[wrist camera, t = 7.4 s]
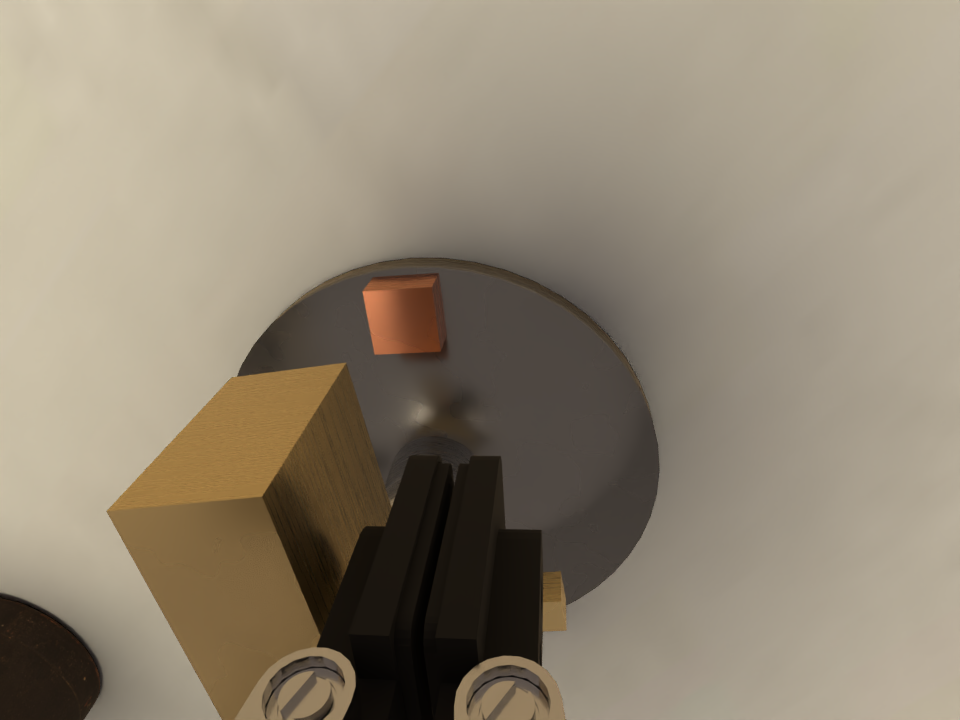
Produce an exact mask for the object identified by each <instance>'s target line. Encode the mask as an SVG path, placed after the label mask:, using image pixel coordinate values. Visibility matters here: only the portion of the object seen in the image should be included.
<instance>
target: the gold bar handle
mask: <svg viewBox="0 0 960 720" xmlns="http://www.w3.org/2000/svg"><path fill="white" fill-rule="evenodd" d="M391 508H392V506H391V504H390V501H389V497H388V494H387V491H386V488H385V485H384V481H383V478H382V475H381V472H380V469H379V466H378V462H377V459H376V456H375V453H374V450H373V446H372V443H371V440H370V437H369V434H368V430H367V427H366V424H365V421H364V418H363V414H362V411H361V408H360V405H359V402H358V398H357V395H356V392H355V389H354V386H353V382H352V379H351V376H350V373H349V370H348V366H347V363H339V364H331V365H323V366H316V367H308V368H300V369H293V370H285V371H277V372H270V373H262V374H254V375H247V376H239V377H232V378H231V379H230V380H229V381H228V382H227V383H226V384H225V385H224V386H223V387H222V388H221V389H220V390H219V391H218V392H217V394H216V395H215V396H214V397H213V398H212V399H211V400H210V401H209V402H208V403H207V404H206V405H205V406H204V407H203V409H202V410H201V411H200V412H199V413H198V414H197V415H196V416H195V417H194V418H193V419H192V420H191V421H190V422H189V424H188V425H187V426H186V427H185V428H184V429H183V430H182V431H181V432H180V433H179V434H178V435H177V436H176V437H175V439H174V440H173V441H172V442H171V443H170V444H169V445H168V446H167V447H166V448H165V449H164V450H163V451H162V452H161V454H160V455H159V456H158V457H157V458H156V459H155V460H154V461H153V462H152V463H151V464H150V465H149V466H148V467H147V468H146V470H145V471H144V472H143V473H142V474H141V475H140V476H139V477H138V478H137V479H136V480H135V481H134V482H133V483H132V485H131V486H130V487H129V488H128V489H127V490H126V491H125V492H124V493H123V494H122V495H121V496H120V497H119V498H118V500H117V501H116V502H115V503H114V504H113V505H112V506H111V507H110V508H109V509H108V510H107V513H108V515H109V517H110V518H111V520H112V522H113V524H114V526H115V527H116V529H117V531H118V533H119V535H120V536H121V538H122V540H123V542H124V544H125V545H126V547H127V549H128V551H129V553H130V554H131V556H132V558H133V560H134V562H135V563H136V565H137V567H138V569H139V571H140V572H141V574H142V576H143V578H144V580H145V582H146V583H147V585H148V587H149V589H150V591H151V592H152V594H153V596H154V598H155V600H156V601H157V603H158V605H159V607H160V609H161V610H162V612H163V614H164V616H165V618H166V619H167V621H168V623H169V625H170V627H171V628H172V630H173V632H174V634H175V636H176V637H177V639H178V641H179V643H180V645H181V646H182V648H183V650H184V652H185V654H186V655H187V657H188V659H189V661H190V663H191V664H192V666H193V668H194V670H195V672H196V673H197V675H198V677H199V679H200V681H201V682H202V684H203V686H204V688H205V690H206V691H207V693H208V695H209V697H210V699H211V700H212V702H213V704H214V706H215V708H216V709H217V711H218V713H219V715H220V717H221V718H222V720H234V719H235V718H236V716H237V714H238V713H239V711H240V710H241V708H242V706H243V705H244V703H245V702H246V700H247V698H248V697H249V695H250V694H251V692H252V690H253V689H254V687H255V685H256V684H257V682H258V681H259V680H260V678H261V677H262V676H263V675H264V673H265V672H266V671H267V670H268V668H270V667H271V666H272V665H274V664H275V663H276V662H277V661H279V660H280V659H281V658H283V657H285V656H287V655H289V654H291V653H293V652H295V651H298V650H303V649H307V648H312V647H317V644H318V641H319V639H320V636H321V634H322V631H323V629H324V626H325V623H326V621H327V618H328V616H329V613H330V610H331V608H332V605H333V603H334V600H335V597H336V595H337V592H338V590H339V587H340V584H341V582H342V579H343V577H344V574H345V571H346V569H347V566H348V564H349V561H350V559H351V556H352V553H353V551H354V548H355V546H356V543H357V540H358V538H359V535H360V533H361V531H362V529H363V528H364V527H366V526H386V523H387V520H388V517H389V514H390V511H391ZM564 630H567V629H566V597H565V592H564V586H563V581H562V575H561V571H555V572H543V632H544V631H564Z"/></svg>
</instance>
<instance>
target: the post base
mask: <svg viewBox="0 0 960 720" xmlns="http://www.w3.org/2000/svg"><path fill="white" fill-rule="evenodd" d="M339 363H347V366H348V370H349V373H350V376H351V379H352V382H353V386H354V389H355V392H356V395H357V398H358V402H359V405H360V408H361V411H362V414H363V418H364V421H365V424H366V427H367V430H368V434H369V437H370V440H371V443H372V446H373V450H374V453H375V456H376V459H377V462H378V466H379V469H380V472H381V475H382V478H383V481H384V485H385V488H386V491H387V494H388V497H389V501H390V504H391V506H392V505H393V502H394V499H395V496H396V493H397V491H398V488H399V485H400V482H401V479H402V476H403V473H404V470H405V467H406V464H407V461H408V459H409V457H410V456H411V455H440V456H441V459H442V463H451V464H452V468H453V477H454V485H455V480H456V475H457V471H458V466H459V464H460V463H462V464H469V461H470V457H471V456H501V460H502V474H503V491H504V508H505V526H506V529H528V530H542V548H543V572H555V571H561V575H562V581H563V586H564V592H565V597H566V605H568V604H570V603H572V602H574V601H576V600H577V599H579V598H581V597H582V596H584V595H585V594H587V593H588V592H590V591H591V590H593V589H595V588H596V587H597V586H598V585H600V584H601V583H602V582H603V581H604V580H605V579H607V578H608V577H609V576H610V575H611V574H613V573H614V571H615V570H616V569H617V568H618V567H619V566H620V565H621V564H622V563H623V561H624V560H625V559H626V558H627V557H628V556H629V554H630V553H631V551H632V550H633V548H634V547H635V545H636V544H637V542H638V541H639V539H640V538H641V536H642V534H643V531H644V529H645V527H646V525H647V523H648V521H649V518H650V516H651V513H652V509H653V506H654V502H655V498H656V495H657V487H658V478H659V454H658V443H657V439H656V434H655V430H654V425H653V421H652V417H651V413H650V409H649V405H648V402H647V400H646V397H645V395H644V392H643V390H642V387H641V385H640V382H639V380H638V378H637V376H636V375H635V373H634V371H633V369H632V368H631V366H630V364H629V362H628V361H627V359H626V357H625V356H624V355H623V353H622V352H621V351H620V350H619V348H618V347H617V346H616V345H615V343H614V342H613V341H612V339H611V338H610V337H609V336H608V334H606V333H605V332H604V331H603V330H602V329H601V328H600V327H599V326H598V325H597V324H596V323H595V322H594V321H593V320H592V319H591V318H590V317H589V316H588V315H587V314H585V313H584V312H583V311H581V310H580V309H578V308H577V307H576V306H574V305H573V304H572V303H570V302H569V301H567V300H566V299H565V298H563V297H562V296H560V295H558V294H556V293H555V292H553V291H551V290H549V289H547V288H546V287H544V286H542V285H540V284H538V283H536V282H535V281H532V280H530V279H527V278H524V277H522V276H519V275H517V274H514V273H512V272H509V271H507V270H504V269H500V268H496V267H492V266H488V265H484V264H480V263H476V262H470V261H462V260H454V259H446V258H408V259H401V260H393V261H386V262H380V263H376V264H372V265H369V266H365V267H361V268H358V269H354V270H351V271H349V272H346V273H344V274H342V275H339V276H337V277H335V278H333V279H330V280H328V281H326V282H324V283H322V284H321V285H319V286H318V287H316V288H314V289H313V290H311V291H309V292H308V293H306V294H305V295H303V296H302V297H301V298H299V299H298V300H297V301H296V302H295V303H294V304H292V305H291V306H290V307H289V308H288V309H286V310H285V311H284V312H283V313H282V314H281V315H280V316H279V317H278V318H277V319H276V320H275V321H274V322H273V323H272V324H271V325H270V327H269V328H268V329H267V330H266V331H265V332H264V334H263V335H262V336H261V337H260V338H259V339H258V341H257V342H256V343H255V344H254V346H253V347H252V349H251V351H250V352H249V354H248V356H247V357H246V359H245V361H244V362H243V364H242V366H241V368H240V371H239V373H238V376H237V377H239V376H247V375H254V374H262V373H270V372H277V371H285V370H293V369H300V368H308V367H316V366H323V365H331V364H339Z"/></svg>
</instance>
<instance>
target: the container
mask: <svg viewBox="0 0 960 720" xmlns="http://www.w3.org/2000/svg"><path fill="white" fill-rule="evenodd" d="M99 691H100V677H99V672H98V670H97V667H96V665H95V663H94V661H93V659H92V657H91V656H90V654H89V653H88V651H87V650H86V649H85V647H84V646H83V645H82V644H81V643H80V642H79V641H78V640H77V639H76V638H75V637H74V636H73V635H72V634H71V633H70V632H69V631H68V630H67V629H65V628H64V627H63V626H62V625H60V624H59V623H58V622H56V621H55V620H53V619H52V618H50V617H48V616H47V615H45V614H43V613H41V612H39V611H37V610H35V609H33V608H31V607H29V606H27V605H24V604H22V603H19V602H15V601H10V600H5V599H2V598H0V720H84V718H85V717H86V715H87V714H88V712H89V711H90V709H91V708H92V706H93V705H94V703H95V702H96V700H97V698H98V695H99Z"/></svg>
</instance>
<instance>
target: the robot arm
mask: <svg viewBox="0 0 960 720" xmlns="http://www.w3.org/2000/svg"><path fill="white" fill-rule="evenodd" d="M542 635H543V548H542V530H528V529H506V526H505V508H504V491H503V474H502V460H501V456H471V457H470V461H469V464H462V463H460V464H459V466H458V471H457V475H456V480H455V485H454V477H453V468H452V464H451V463H442V459H441V456H440V455H411V456H410V457H409V459H408V461H407V464H406V467H405V470H404V473H403V476H402V479H401V482H400V485H399V488H398V491H397V493H396V496H395V499H394V502H393V505H392V508H391V511H390V514H389V517H388V520H387V523H386V526H366V527H364V528H363V529H362V531H361V533H360V535H359V538H358V540H357V543H356V546H355V548H354V551H353V553H352V556H351V559H350V561H349V564H348V566H347V569H346V571H345V574H344V577H343V579H342V582H341V584H340V587H339V590H338V592H337V595H336V597H335V600H334V603H333V605H332V608H331V610H330V613H329V616H328V618H327V621H326V623H325V626H324V629H323V631H322V634H321V636H320V639H319V641H318V644H317V647H312V648H307V649H303V650H298V651H295V652H293V653H291V654H289V655H287V656H285V657H283V658H281V659H280V660H279V661H277V662H276V663H275V664H274V665H272V666H271V667H270V668H268V670H267V671H266V672H265V673H264V675H263V676H262V677H261V678H260V680H259V681H258V682H257V684H256V685H255V687H254V689H253V690H252V692H251V694H250V695H249V697H248V698H247V700H246V702H245V703H244V705H243V706H242V708H241V710H240V711H239V713H238V714H237V716H236V718H235V719H234V720H566V719H565V713H564V707H563V702H562V697H561V694H560V691H559V688H558V685H557V683H556V681H555V680H554V679H553V677H552V676H551V675H550V674H549V672H548V671H547V670H546V669H544V668H543V667H542Z"/></svg>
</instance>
